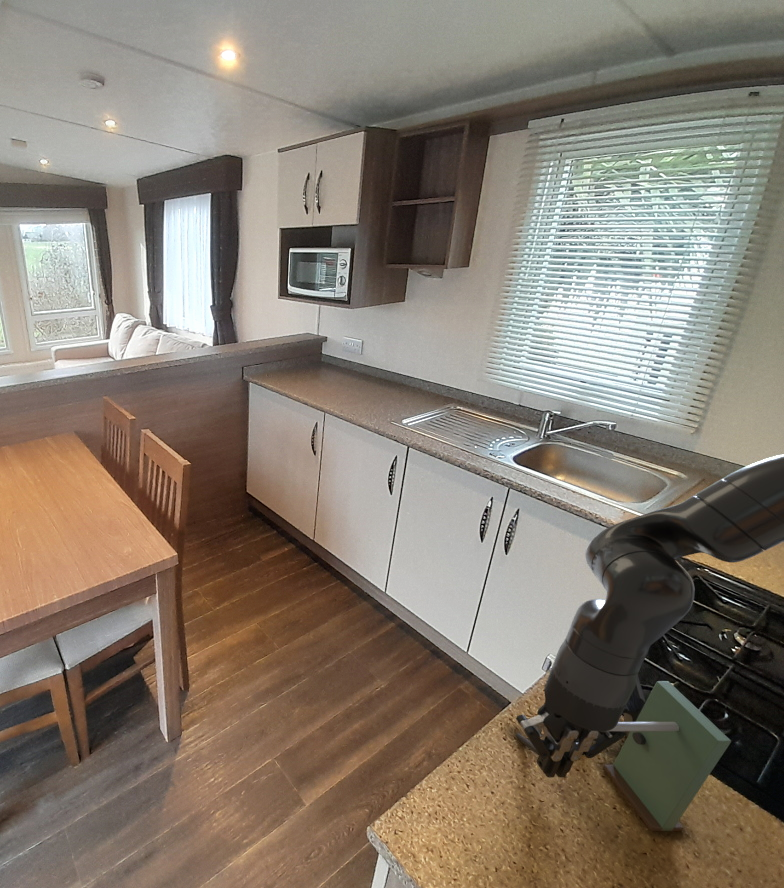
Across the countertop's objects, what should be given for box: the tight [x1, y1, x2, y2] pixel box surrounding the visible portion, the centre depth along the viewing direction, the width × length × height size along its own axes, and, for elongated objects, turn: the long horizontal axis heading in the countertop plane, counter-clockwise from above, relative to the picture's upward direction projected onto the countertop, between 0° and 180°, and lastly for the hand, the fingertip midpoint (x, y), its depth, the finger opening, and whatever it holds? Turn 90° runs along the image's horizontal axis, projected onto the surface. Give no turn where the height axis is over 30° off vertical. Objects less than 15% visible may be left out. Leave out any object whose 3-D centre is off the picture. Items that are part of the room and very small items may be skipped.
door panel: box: [602, 680, 732, 832], centre depth 61 cm, size 8×12×18 cm, turn 89°
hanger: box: [515, 732, 539, 756], centre depth 69 cm, size 9×1×5 cm
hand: (551, 770), depth 66 cm, fingers closed on hanger, 1 cm apart
